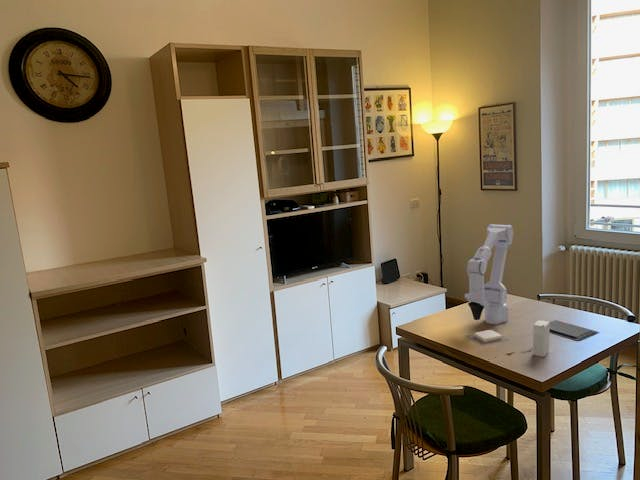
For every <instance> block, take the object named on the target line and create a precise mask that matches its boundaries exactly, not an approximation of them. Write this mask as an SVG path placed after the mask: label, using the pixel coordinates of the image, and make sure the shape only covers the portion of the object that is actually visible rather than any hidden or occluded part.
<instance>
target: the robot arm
mask: <svg viewBox="0 0 640 480" xmlns="http://www.w3.org/2000/svg"><path fill="white" fill-rule="evenodd" d="M513 237H514V228H513V225H511V224H493V223H490V224H489V225H488V226H487V228H486V238H485V241H484V244H483V245H482V246H480V247H478V249H477V250H476V252H475V254H474V256H473V258H471V259H469V260H468V261H467V263H466V267H465V268H466V272H467V277H468V278H469V279H468V280H469V281H468V282H469V283H468V284H469V287H468V289H469V292H467V293H464V299H465V300H467V302H468V303H467V304H468V306H469V308H470V310H471V313H472V318H473V320H475V321H478V320H481V318H482V317H481V316H482V313H483V311H484V321H485V323H487V324H491V325H498V324H499V325H500V324H502V323H506V322H509V307H508V305H507V304H506V302H507V298H508V297H507V295H508V294H507V292H508V289H507V288H506V286H505V285H504V284H503V283H502V282H503V277H504V270H505V265H506V264H505V263H506V260H507V259H506V258H507V253H508V247H509V246H511V245H512V243H513V239H514V238H513ZM494 247H495V249H494V255H493V260H492V264H491V272H490V277H489V281H488V282H486V283H485V281H484V280H485V274H486V271H487V268H488V267H487V266H488V262H489V260H490V258H491V256H492V250H493V248H494Z"/></svg>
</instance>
